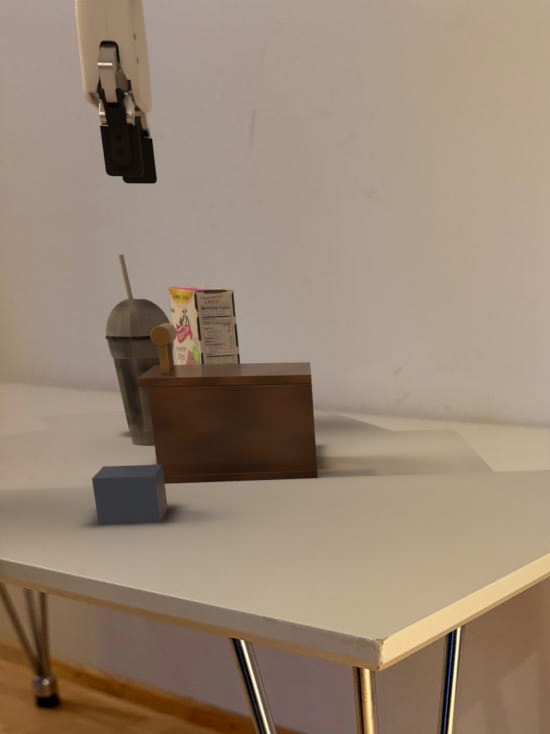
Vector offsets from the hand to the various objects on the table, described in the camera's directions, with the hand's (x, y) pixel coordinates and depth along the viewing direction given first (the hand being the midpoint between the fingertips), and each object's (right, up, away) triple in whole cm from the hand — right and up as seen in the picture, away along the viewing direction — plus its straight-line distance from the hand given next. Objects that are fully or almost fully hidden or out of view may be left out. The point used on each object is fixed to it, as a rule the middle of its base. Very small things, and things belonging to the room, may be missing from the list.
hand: (133, 179), depth 93 cm
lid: (+9, -18, +2) cm, 20 cm away
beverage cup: (-5, -21, +20) cm, 29 cm away
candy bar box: (-1, -17, +30) cm, 35 cm away
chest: (+9, -26, +5) cm, 28 cm away
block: (+6, -35, -16) cm, 39 cm away
